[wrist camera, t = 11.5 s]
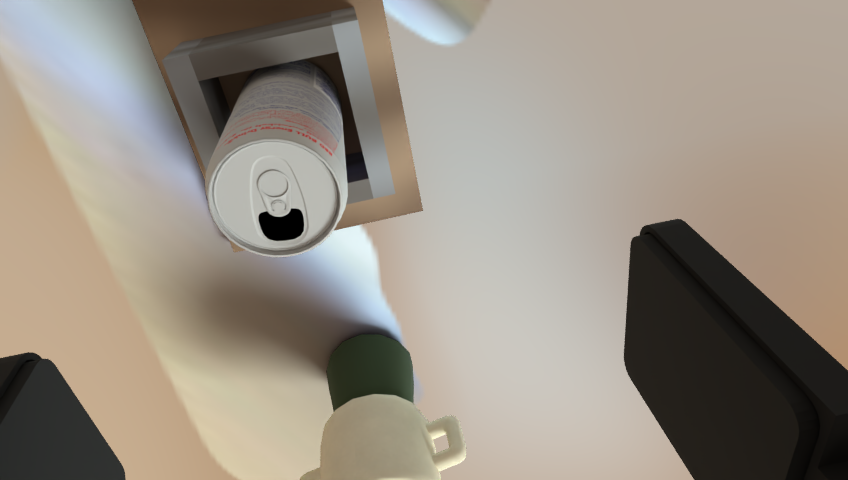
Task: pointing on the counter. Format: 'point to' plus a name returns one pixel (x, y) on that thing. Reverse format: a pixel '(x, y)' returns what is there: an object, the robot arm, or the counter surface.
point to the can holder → (280, 43)
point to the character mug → (380, 418)
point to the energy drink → (280, 162)
